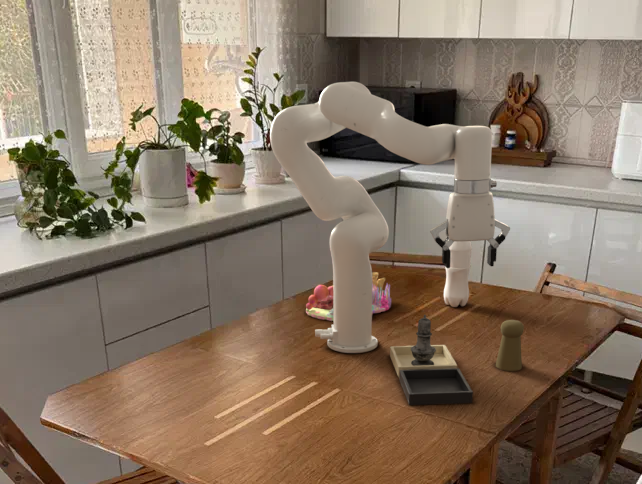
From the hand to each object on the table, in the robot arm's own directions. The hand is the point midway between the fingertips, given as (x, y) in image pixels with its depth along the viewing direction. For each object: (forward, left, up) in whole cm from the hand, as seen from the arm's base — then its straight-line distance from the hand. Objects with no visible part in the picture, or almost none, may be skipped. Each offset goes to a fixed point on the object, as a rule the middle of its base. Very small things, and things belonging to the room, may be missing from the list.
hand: (468, 265), depth 173 cm
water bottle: (+9, +47, -24) cm, 54 cm away
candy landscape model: (-22, +47, -24) cm, 57 cm away
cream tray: (-9, +1, -24) cm, 26 cm away
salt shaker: (-9, +1, -24) cm, 25 cm away
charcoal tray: (-9, -14, -24) cm, 29 cm away
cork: (+11, -1, -24) cm, 26 cm away
